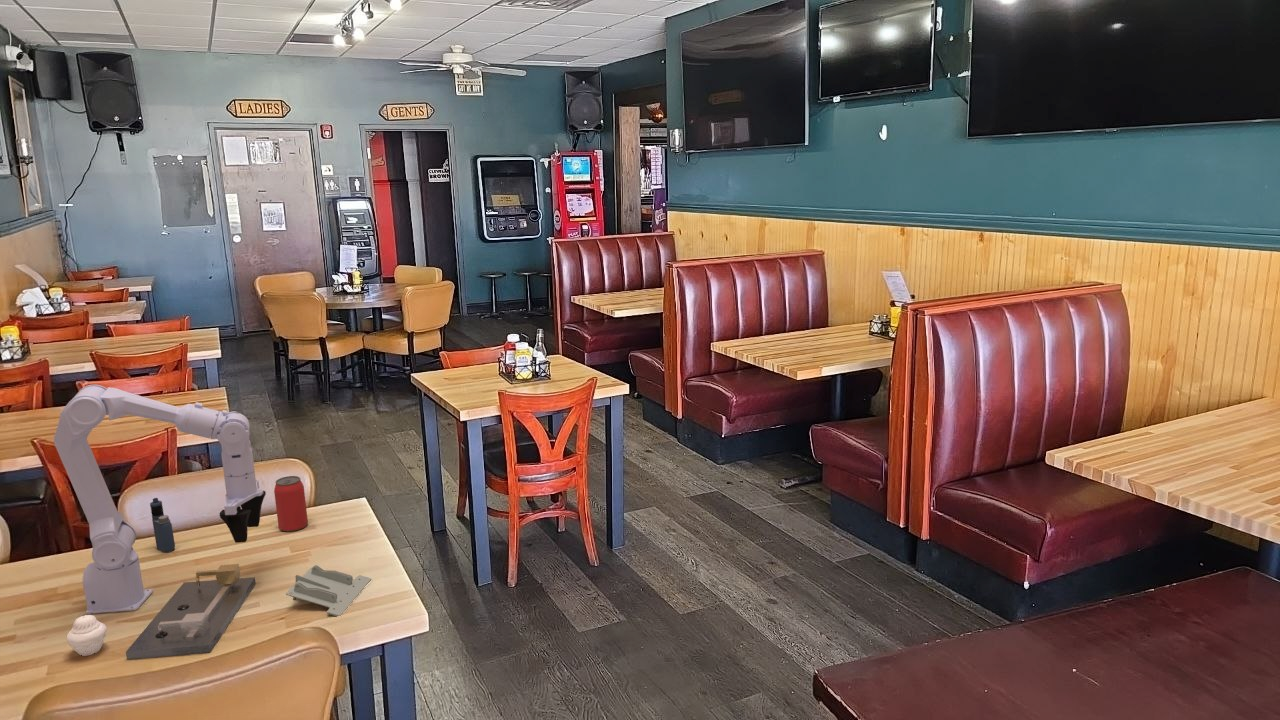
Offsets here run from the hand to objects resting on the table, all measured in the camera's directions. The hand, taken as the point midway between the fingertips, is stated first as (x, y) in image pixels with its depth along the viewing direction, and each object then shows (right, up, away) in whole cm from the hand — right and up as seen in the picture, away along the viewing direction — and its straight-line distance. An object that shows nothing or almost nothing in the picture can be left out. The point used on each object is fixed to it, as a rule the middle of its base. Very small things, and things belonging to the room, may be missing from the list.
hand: (247, 533), depth 177 cm
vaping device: (-27, -7, +18) cm, 33 cm away
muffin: (-17, -17, -24) cm, 34 cm away
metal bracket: (+19, -12, -6) cm, 23 cm away
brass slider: (-4, -9, -4) cm, 11 cm away
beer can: (-2, -4, +28) cm, 29 cm away
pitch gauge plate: (-4, -14, -13) cm, 19 cm away
